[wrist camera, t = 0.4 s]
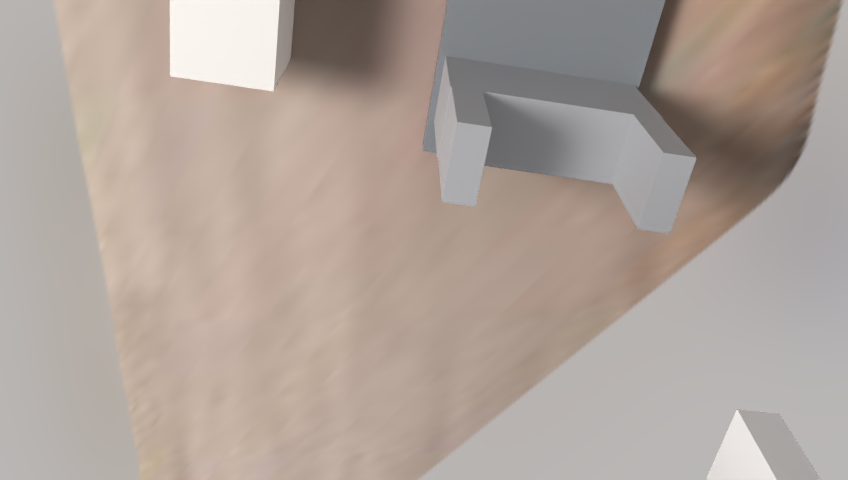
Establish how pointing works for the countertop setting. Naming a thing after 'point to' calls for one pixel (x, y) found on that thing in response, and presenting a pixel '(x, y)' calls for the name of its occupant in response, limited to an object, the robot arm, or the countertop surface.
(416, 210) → the countertop surface
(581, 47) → the bracket stand
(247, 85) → the rail
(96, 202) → the countertop surface
